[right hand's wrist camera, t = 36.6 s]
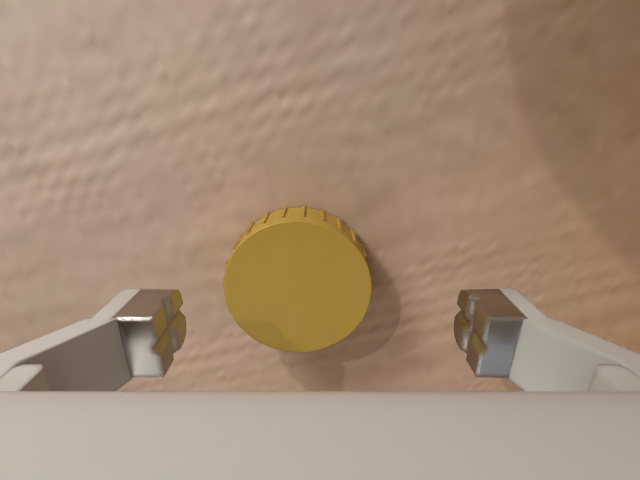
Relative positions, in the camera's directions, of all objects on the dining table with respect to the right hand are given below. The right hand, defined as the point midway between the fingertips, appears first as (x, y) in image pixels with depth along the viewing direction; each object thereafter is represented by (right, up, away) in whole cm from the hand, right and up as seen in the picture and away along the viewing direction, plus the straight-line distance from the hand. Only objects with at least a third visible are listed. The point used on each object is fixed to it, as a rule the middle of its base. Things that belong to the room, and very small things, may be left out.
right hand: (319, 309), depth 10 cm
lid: (-1, 0, +3) cm, 3 cm away
